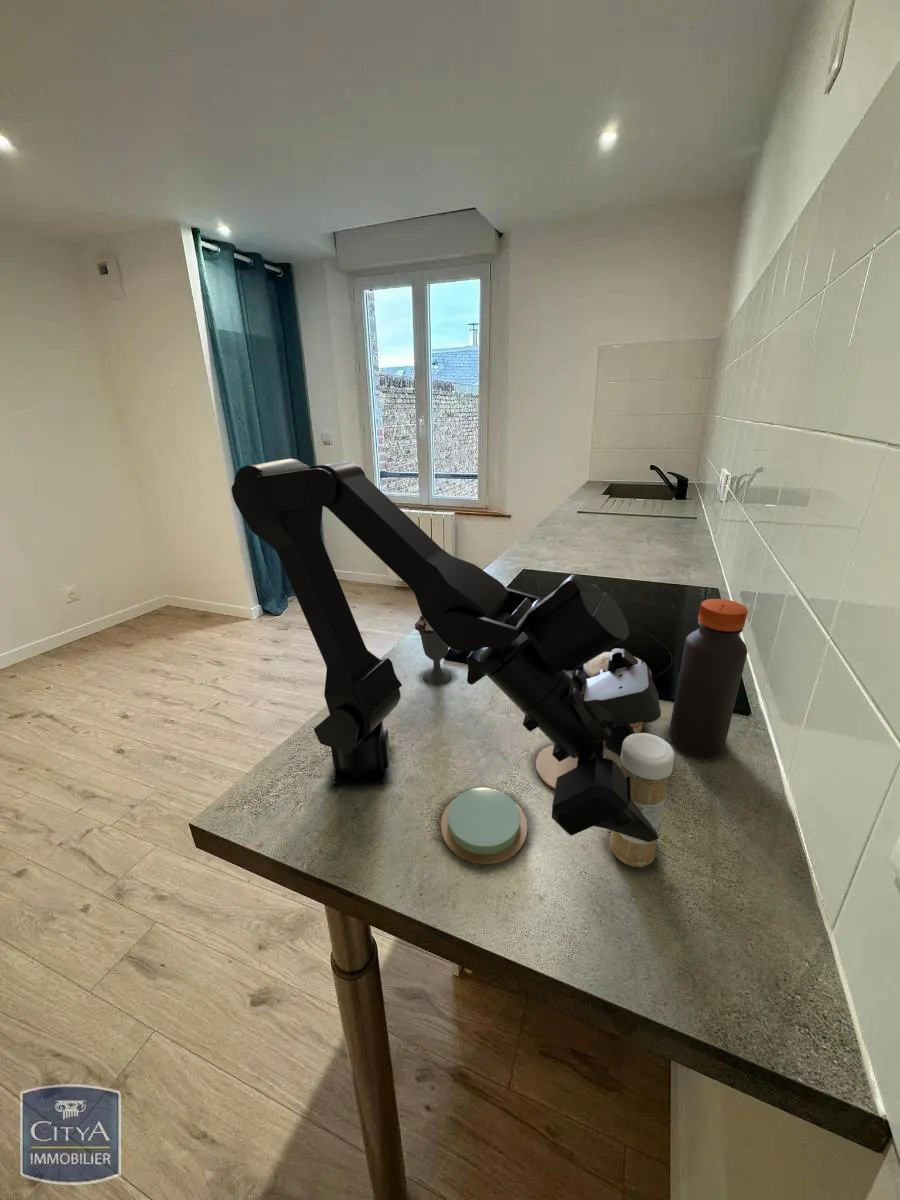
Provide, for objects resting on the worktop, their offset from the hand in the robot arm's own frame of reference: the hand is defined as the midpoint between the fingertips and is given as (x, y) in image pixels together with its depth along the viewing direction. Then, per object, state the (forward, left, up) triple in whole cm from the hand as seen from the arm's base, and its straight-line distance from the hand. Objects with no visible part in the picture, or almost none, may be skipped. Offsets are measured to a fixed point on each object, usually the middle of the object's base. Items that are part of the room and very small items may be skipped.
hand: (650, 800), depth 46 cm
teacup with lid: (+5, +22, -7) cm, 24 cm away
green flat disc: (-16, +4, -7) cm, 18 cm away
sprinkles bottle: (-1, 0, -7) cm, 7 cm away
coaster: (-4, +12, -7) cm, 15 cm away
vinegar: (+14, +16, -7) cm, 23 cm away
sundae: (-21, +35, -7) cm, 42 cm away
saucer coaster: (-16, +4, -7) cm, 18 cm away
